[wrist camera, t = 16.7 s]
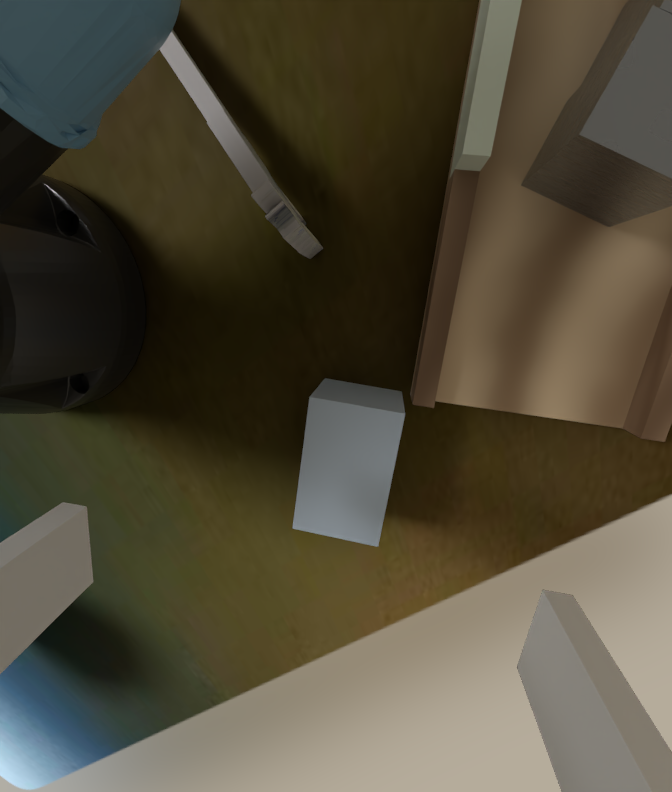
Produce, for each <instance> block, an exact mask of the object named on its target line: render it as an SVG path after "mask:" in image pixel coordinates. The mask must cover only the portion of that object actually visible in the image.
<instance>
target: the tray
mask: <svg viewBox="0 0 672 792" xmlns="http://www.w3.org/2000/svg"><path fill="white" fill-rule="evenodd" d="M521 2H522V0H481V3H480V9H479V14H478V20H477V26H476V31H475V37H474V43H473V48H472V54H471V60H470V65H469V71H468V77H467V82H466V88H465V94H464V99H463V105H462V111H461V116H460V122H459V128H458V133H457V139H456V145H455V150H454V156H453V162H452V167H451V173H450V177H451V175H452V173H453V171H454V170H455V169H459V170H471V171H481V169H482V168H483V166H484V165H485V164H486V162H487V161H488V159H489V158H490V157H491V152H492V147H493V142H494V137H495V132H496V127H497V122H498V117H499V112H500V107H501V102H502V97H503V92H504V87H505V82H506V77H507V72H508V67H509V62H510V57H511V52H512V47H513V42H514V37H515V32H516V27H517V22H518V17H519V12H520V7H521Z"/></svg>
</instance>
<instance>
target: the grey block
mask: <svg viewBox="0 0 672 792" xmlns="http://www.w3.org/2000/svg"><path fill="white" fill-rule="evenodd" d="M404 418H405V409H404V402H403V396H402V391H397V390H391V389H385V388H379V387H373V386H367V385H362V384H356V383H350V382H344V381H338V380H333V379H327V378H325V379H324V380H323V381H322V382H321V384H320V385H319V386H318V387H317V388H316V390H315V391H314V392H313V393H312V394H311V396H310V397H309V405H308V413H307V420H306V428H305V436H304V444H303V451H302V459H301V467H300V474H299V482H298V490H297V498H296V505H295V513H294V521H293V528H292V529H297V530H302V531H307V532H311V533H316V534H321V535H325V536H330V537H335V538H339V539H344V540H349V541H353V542H358V543H363V544H368V545H372V546H377V547H378V545H379V540H380V535H381V530H382V525H383V520H384V515H385V511H386V506H387V501H388V496H389V491H390V486H391V481H392V476H393V472H394V467H395V462H396V457H397V452H398V447H399V442H400V437H401V433H402V428H403V423H404Z"/></svg>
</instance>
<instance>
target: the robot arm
mask: <svg viewBox="0 0 672 792" xmlns="http://www.w3.org/2000/svg"><path fill="white" fill-rule="evenodd" d="M180 2H181V0H0V413H13V414H45V413H53V412H59V411H64V410H68V409H71V408H74V407H77V406H80V405H83V404H86V403H89V402H92V401H94V400H97V399H99V398H101V397H103V396H105V395H106V394H108V393H110V392H111V391H112V390H114V389H115V388H116V387H117V386H118V385H119V384H120V383H121V382H122V381H123V380H124V379H125V378H126V376H127V375H128V374H129V372H130V371H131V369H132V367H133V366H134V364H135V362H136V360H137V357H138V355H139V353H140V349H141V346H142V342H143V338H144V332H145V323H146V306H145V296H144V290H143V285H142V281H141V277H140V274H139V271H138V268H137V265H136V262H135V260H134V257H133V255H132V253H131V251H130V249H129V247H128V245H127V243H126V241H125V240H124V238H123V237H122V235H121V233H120V232H119V230H118V229H117V228H116V226H115V225H114V224H113V222H112V221H111V220H110V219H109V217H108V216H107V215H106V214H105V213H104V212H103V211H102V210H101V209H100V208H99V207H98V206H97V205H96V204H95V203H94V202H92V201H91V200H90V199H89V198H88V197H86V196H85V195H83V194H82V193H81V192H79V191H78V190H76V189H74V188H73V187H71V186H69V185H67V184H65V183H63V182H61V181H58V180H56V179H53V178H50V177H48V176H45V175H42V174H43V173H44V172H45V171H46V170H47V169H48V168H49V167H50V166H51V165H52V164H53V163H54V162H55V161H56V160H57V159H58V158H59V157H60V156H61V155H62V154H63V153H64V152H65V151H66V150H67V149H68V148H74V149H81V148H84V147H85V146H87V145H88V144H89V143H90V142H91V141H92V140H93V139H94V138H95V137H96V136H97V129H98V127H99V124H100V121H101V117H102V114H103V113H104V112H105V110H106V109H107V108H108V107H109V106H110V105H111V104H112V102H113V101H114V100H115V99H116V98H117V97H118V96H119V94H120V93H121V92H122V91H123V90H124V89H125V88H126V86H127V85H128V84H129V83H130V82H131V81H132V80H133V78H134V77H135V76H136V75H137V74H138V73H139V72H140V71H141V69H142V68H143V67H144V66H145V65H146V64H147V63H148V61H149V60H150V59H151V58H152V57H153V56H154V55H155V53H156V52H157V51H158V50H159V49H160V48H161V47H162V45H163V44H164V43H165V41H166V40H167V38H168V36H169V35H170V33H171V31H172V29H173V27H174V24H175V22H176V20H177V16H178V13H179V8H180ZM92 583H93V573H92V561H91V550H90V539H89V527H88V516H87V507H86V506H81V505H75V504H70V503H64V502H63V503H61V504H60V505H58V506H56V507H55V508H53V509H52V510H50V511H49V512H47V513H46V514H44V515H43V516H41V517H40V518H38V519H36V520H35V521H33V522H32V523H30V524H29V525H27V526H26V527H24V528H23V529H21V530H19V531H18V532H16V533H15V534H13V535H12V536H10V537H9V538H7V539H6V540H4V541H3V542H1V543H0V674H1V673H2V672H3V671H4V670H5V669H6V668H7V667H8V666H9V665H10V664H11V663H12V662H13V661H14V660H15V659H16V658H17V657H18V656H19V655H20V654H21V653H22V652H23V651H24V650H25V649H26V648H27V647H28V646H29V645H30V644H31V643H32V642H33V641H34V640H35V639H36V638H37V637H38V636H39V635H40V634H41V633H42V632H43V631H44V630H45V629H46V628H47V627H48V626H49V625H50V624H51V623H52V622H53V621H54V620H55V619H56V618H57V617H58V616H59V615H60V614H61V613H62V612H63V611H64V610H65V609H66V608H67V607H68V606H69V605H70V604H71V603H72V602H73V601H74V600H75V599H76V598H77V597H78V596H79V595H80V594H81V593H82V592H83V591H84V590H85V589H86V588H87V587H89V586H90V585H91V584H92ZM517 669H518V671H519V674H520V677H521V680H522V683H523V685H524V688H525V691H526V694H527V697H528V699H529V702H530V705H531V708H532V710H533V713H534V716H535V719H536V722H537V724H538V727H539V730H540V733H541V735H542V738H543V741H544V744H545V747H546V749H547V752H548V755H549V758H550V761H551V763H552V766H553V769H554V772H555V775H556V777H557V780H558V783H559V786H560V788H561V791H562V792H672V752H671V750H670V749H669V747H668V745H667V744H666V742H665V741H664V739H663V738H662V736H661V734H660V733H659V731H658V730H657V728H656V726H655V725H654V723H653V722H652V720H651V718H650V717H649V715H648V714H647V712H646V711H645V709H644V707H643V706H642V704H641V703H640V701H639V700H638V698H637V696H636V695H635V693H634V692H633V690H632V689H631V687H630V685H629V684H628V682H627V681H626V679H625V677H624V676H623V674H622V672H621V671H620V669H619V668H618V666H617V665H616V663H615V661H614V660H613V658H612V657H611V655H610V653H609V652H608V650H607V649H606V647H605V645H604V644H603V642H602V641H601V639H600V638H599V636H598V635H597V633H596V631H595V630H594V628H593V626H592V625H591V623H590V622H589V620H588V619H587V617H586V615H585V614H584V612H583V611H582V609H581V608H580V606H579V604H578V603H577V601H576V599H575V598H574V596H573V595H570V594H564V593H558V592H553V591H547V590H542V593H541V596H540V599H539V602H538V606H537V608H536V611H535V614H534V617H533V620H532V623H531V626H530V629H529V632H528V635H527V638H526V641H525V644H524V647H523V650H522V653H521V656H520V659H519V663H518V665H517Z"/></svg>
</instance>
